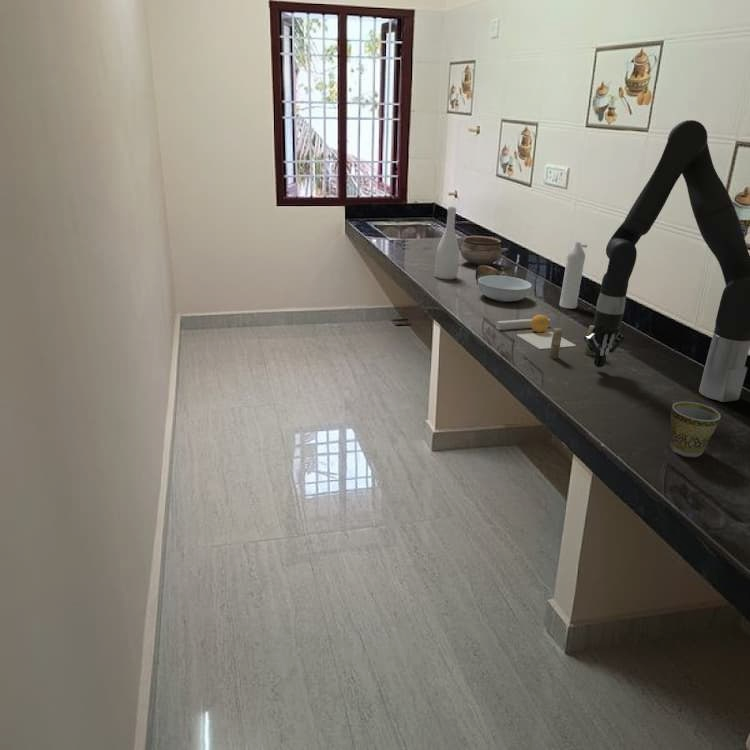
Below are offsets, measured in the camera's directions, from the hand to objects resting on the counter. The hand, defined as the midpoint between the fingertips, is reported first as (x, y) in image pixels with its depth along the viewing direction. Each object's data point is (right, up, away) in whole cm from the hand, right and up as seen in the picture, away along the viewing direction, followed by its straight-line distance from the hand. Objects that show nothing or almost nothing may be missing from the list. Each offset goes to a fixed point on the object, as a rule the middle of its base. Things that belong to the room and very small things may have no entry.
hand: (599, 366), depth 196 cm
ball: (-10, +15, +31) cm, 36 cm away
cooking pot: (-16, +49, +122) cm, 133 cm away
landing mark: (-10, +9, +24) cm, 27 cm away
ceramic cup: (+7, -20, -42) cm, 47 cm away
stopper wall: (-14, +14, +36) cm, 41 cm away
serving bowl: (-15, +27, +69) cm, 76 cm away
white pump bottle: (+9, +23, +62) cm, 67 cm away
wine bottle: (-35, +40, +97) cm, 110 cm away
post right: (+2, +4, +14) cm, 15 cm away
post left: (-11, +3, +9) cm, 15 cm away
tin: (-19, +34, +86) cm, 94 cm away
